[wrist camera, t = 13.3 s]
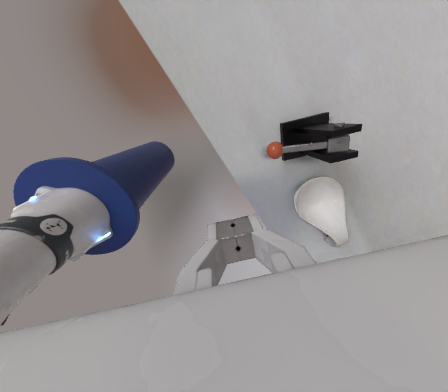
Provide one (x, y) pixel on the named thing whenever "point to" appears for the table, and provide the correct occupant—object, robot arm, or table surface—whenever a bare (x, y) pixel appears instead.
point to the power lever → (310, 146)
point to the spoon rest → (323, 208)
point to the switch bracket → (316, 137)
